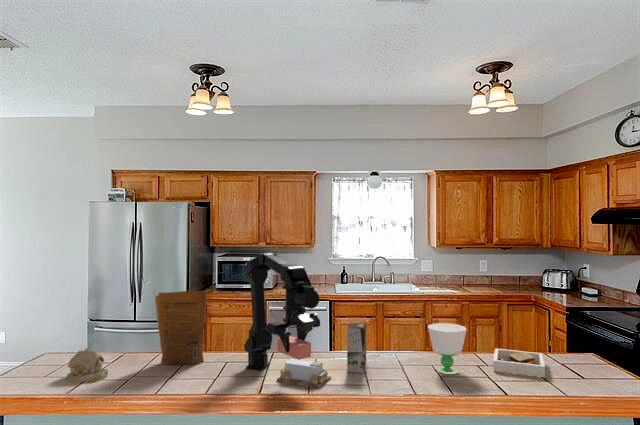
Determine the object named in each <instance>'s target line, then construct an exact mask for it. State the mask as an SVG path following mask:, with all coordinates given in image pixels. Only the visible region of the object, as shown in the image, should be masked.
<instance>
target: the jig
mask: <svg viewBox="0 0 640 425" xmlns="http://www.w3.org/2000/svg"><path fill="white" fill-rule="evenodd" d="M331 378H332V376H331V375H328V370H326V368H323V373H321V374H320V375H319V381H318V376H317V375H310V381H304V380H298V379H291V378H290V371H285V366H284V367H283V368H281V369H280V376H279V377H277V378H276V382H278V383H284V384H290V385H296V386H304V387H310V388H315V389H320V388H322V387H323V386H324V385H325V384H326V383H327V382H329V381H330V380H331Z"/></svg>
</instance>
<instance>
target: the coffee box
mask: <svg viewBox="0 0 640 425" xmlns="http://www.w3.org/2000/svg"><path fill="white" fill-rule="evenodd" d="M346 329H347V331H346V332H347V334H346V335H347V338H346V339H347V340H346V341H347V342H346V351H347V352H346V353H347V354H346V358H347V359H346V361H347V362H346V363H347V364H346V372H347V373H359V374H364V373H365V369H366V367H367V323H366V322H349V324H348V326H347V328H346Z"/></svg>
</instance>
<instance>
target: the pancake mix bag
mask: <svg viewBox="0 0 640 425" xmlns="http://www.w3.org/2000/svg"><path fill="white" fill-rule="evenodd" d="M207 295H208V293H207V291H204V290H186V291H185V290H184V291H182V290H181V291H175V292H174V291H171V292H170V291H169V292H158V295H155V297H154V304H155V311H156V312H155V313H156V314H155V315H156V321H157V329H158V335H159V342H160V343H159V344H160V349H161V354H162V355H161V363H162V364H163V363H164V365H166V364H168V365H169V366H171V365H172V366H173V365H175V366H176V365H198V364H197V363H199V364H201V363H200V362H202V363H204V362H205V360H204V355H203V344H204V331H205V330H204V329H205V321H206V307H207Z"/></svg>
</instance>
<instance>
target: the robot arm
mask: <svg viewBox="0 0 640 425" xmlns="http://www.w3.org/2000/svg"><path fill="white" fill-rule="evenodd" d="M270 270H272V271H273V272H275V273H277V274H278V275H280V280H281V281H282V282H283V283H284V285H283V286H282V288H281V289H282V290H285V305H284V306H283V307H282V309H283V310H284V311H285V315H284V316H285V317H284V318H283V319H282V322H280V321H272V322H268V323H267V321H266V320H267V319H266V316H267V315H266V300H265V299H266V298H265V283H266V281H267V278H268V276H269V274H268V273H269V271H270ZM243 271H244V273H245V279H246V280H247V282H248V283H249V285H250V295H251V299H250V300H251V314H252V325H251V326H250V329H249V331H248V338H247V340H246V341H245V342H244V345H243V348H244V352H246V353H248V354H247V355H248V357H247V359H248V360H247V362H248V364H247V365H246V366H245V368H246V369H251V370H257V371H261V370H262V371H263V369H265V368H266V367H268V366H269V365H270V364H269V363H268V360H269V358H268V357H269V355H268V350H271V347H272V342H273V335H276V336H277V335H278V338H279V337H280V339H281V341H282V344H283V346H284V348H285V351H286V352H289V337H290V336H292V332H290V331H289V330H290V329H294V328H296V335H297V337H296V338H298V339H301V340H304V341H306V338H307V335H308V333H310V332H311V331H313V330H314V328H318V327H321V320H320V318H319V317H318V313H316V312H310V313H307V312H306V308H307V309H311V310H313V309H315V308H317V306H318V305H319V303H320V296H319V293H318V291H316V290H315V286H312V283H311V279H310V278H309V276H308V273H307V271H306V269H305V267H304V266H302V265H299V264H294V263H288V262H286V261H285V260H283V259H281V258H280V257H278V256H276V255H274V253H273V252H262V253H259V254H258V255H257V256H256V257H254V258H251V259H249V261H248V262H247V263H246V264H245V266H244V270H243Z"/></svg>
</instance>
